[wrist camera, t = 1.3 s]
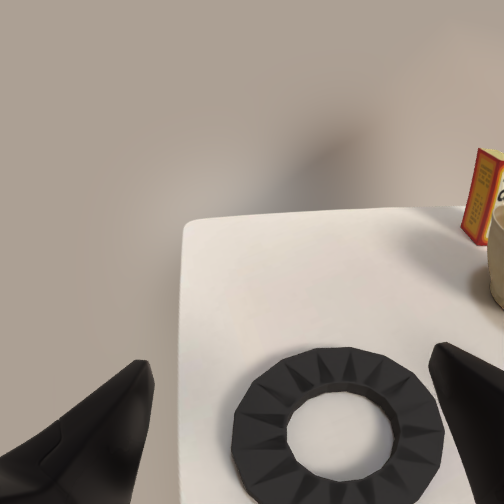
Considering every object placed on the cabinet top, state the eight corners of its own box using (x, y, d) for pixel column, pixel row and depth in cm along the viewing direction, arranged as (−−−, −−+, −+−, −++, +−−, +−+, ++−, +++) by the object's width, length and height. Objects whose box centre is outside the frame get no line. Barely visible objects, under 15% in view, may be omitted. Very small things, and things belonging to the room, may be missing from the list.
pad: (469, 459, 17) (477, 452, 16) (282, 568, 13) (283, 568, 12) (370, 335, 31) (373, 325, 30) (208, 390, 26) (206, 380, 25)
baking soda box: (494, 228, 50) (513, 153, 41) (510, 246, 45) (534, 166, 36) (460, 227, 51) (478, 145, 42) (476, 245, 45) (499, 157, 36)
